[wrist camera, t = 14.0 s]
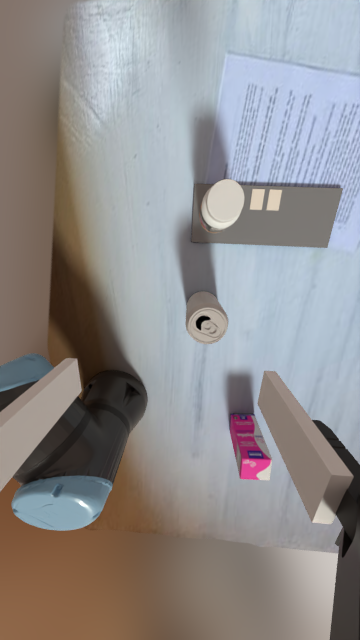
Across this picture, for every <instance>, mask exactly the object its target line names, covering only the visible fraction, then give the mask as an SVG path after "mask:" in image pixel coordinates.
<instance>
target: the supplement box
mask: <svg viewBox="0 0 360 640" xmlns="http://www.w3.org/2000/svg"><path fill="white" fill-rule="evenodd" d="M230 434H231V439H232V443H233V448H234V452H235V457H236V461H237V466H238V471H239V475H240V479H253V480H270V471H271V464H272V458H271V455H270V453H269V450H268V448H267V445H266V443H265V440H264V438H263V435H262V433H261V430H260V428H259V425H258V423H257V420H256V417H255V415H254V414H231V420H230Z"/></svg>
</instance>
